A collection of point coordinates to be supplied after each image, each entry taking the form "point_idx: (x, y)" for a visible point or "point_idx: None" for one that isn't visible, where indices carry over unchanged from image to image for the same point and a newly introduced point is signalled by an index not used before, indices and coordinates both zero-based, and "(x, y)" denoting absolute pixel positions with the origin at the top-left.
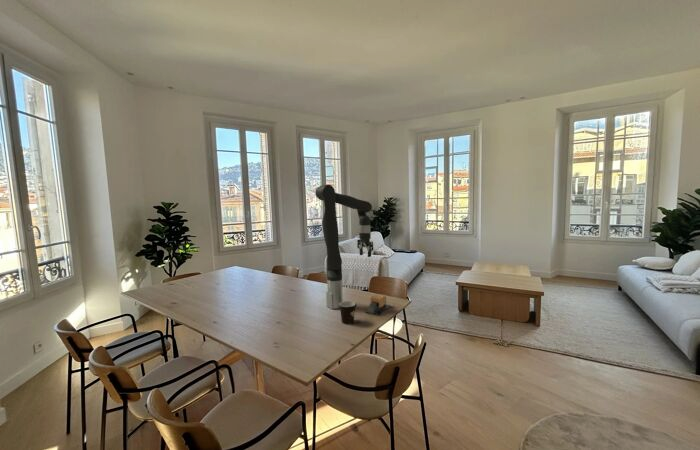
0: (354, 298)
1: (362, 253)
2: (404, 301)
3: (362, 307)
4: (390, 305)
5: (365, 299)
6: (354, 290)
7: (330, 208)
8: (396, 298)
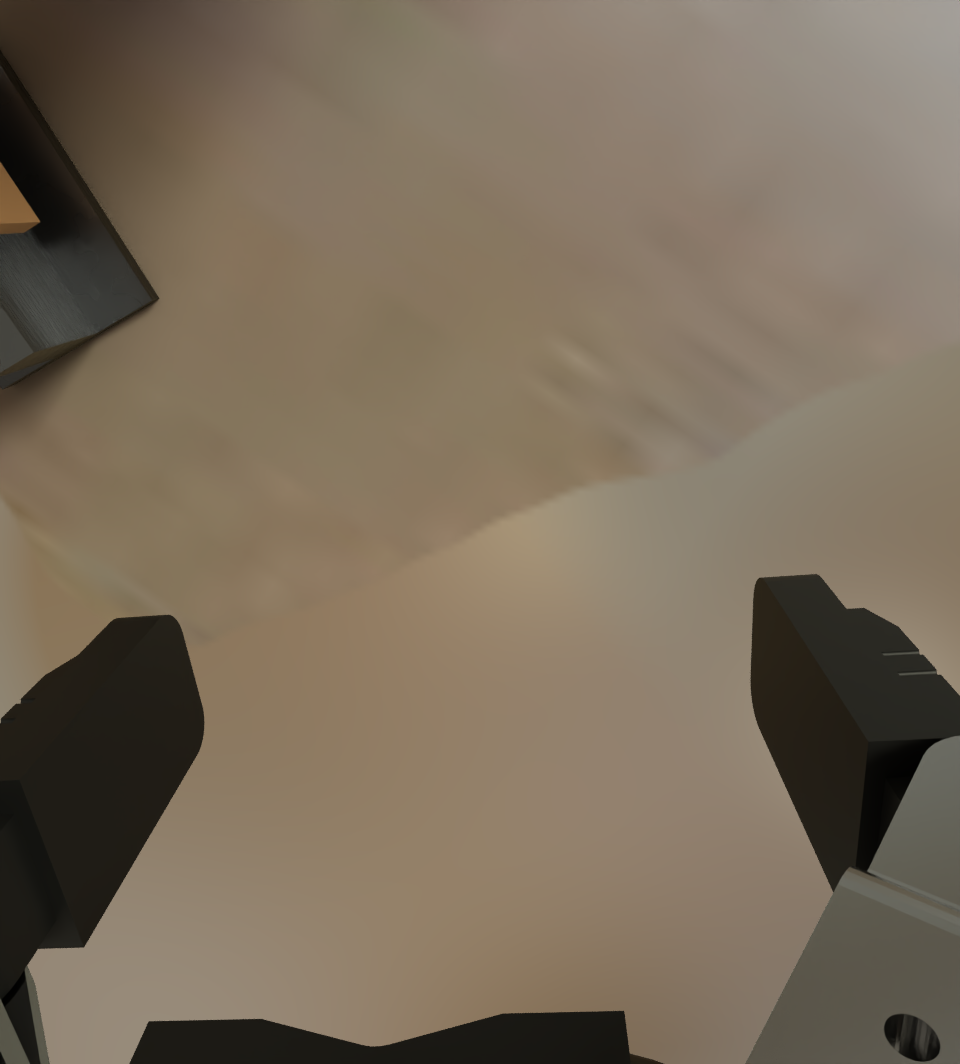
0: (545, 143)
1: (772, 729)
2: None
3: (138, 25)
4: (6, 387)
5: (414, 267)
6: (864, 359)
7: None
8: (244, 617)
